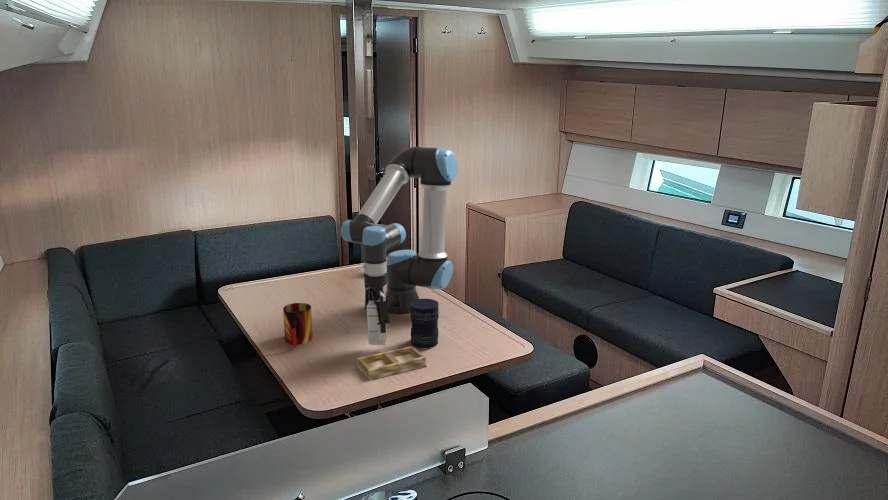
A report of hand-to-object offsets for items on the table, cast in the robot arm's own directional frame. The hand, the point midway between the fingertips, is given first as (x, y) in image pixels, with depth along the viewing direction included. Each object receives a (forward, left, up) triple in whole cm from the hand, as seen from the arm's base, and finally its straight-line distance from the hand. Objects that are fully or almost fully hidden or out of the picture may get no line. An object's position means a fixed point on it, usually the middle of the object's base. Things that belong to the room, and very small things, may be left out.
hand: (377, 335), depth 220 cm
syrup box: (0, 0, -2) cm, 2 cm away
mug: (+21, -20, -6) cm, 30 cm away
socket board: (+1, +12, -6) cm, 14 cm away
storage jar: (-17, +1, -6) cm, 19 cm away
